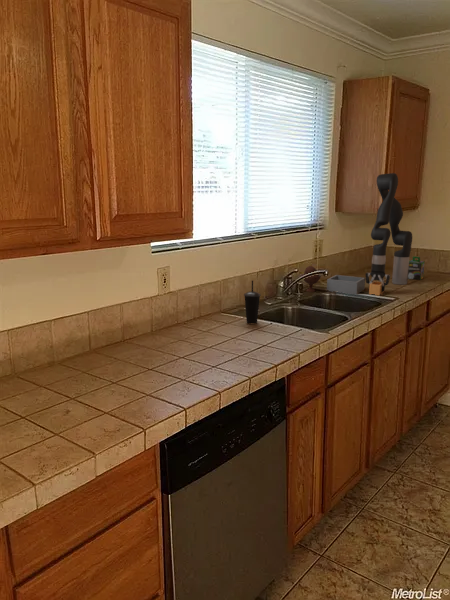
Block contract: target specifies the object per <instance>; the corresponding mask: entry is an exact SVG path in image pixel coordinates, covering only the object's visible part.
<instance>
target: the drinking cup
mask: <svg viewBox="0 0 450 600" xmlns="http://www.w3.org/2000/svg"><path fill="white" fill-rule="evenodd" d="M243 296H244V306H245V307H244V308H245V317H246V318H245V321H246V324H248V323H256V324H258V319H259V318H258V317H259V308H260V300H261V293H259V292H257V291H254V280H251V290H250V291H247V292H245V293H244V294H243Z"/></svg>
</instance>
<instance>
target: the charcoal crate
mask: <svg viewBox="0 0 450 600" xmlns="http://www.w3.org/2000/svg"><path fill="white" fill-rule="evenodd" d="M365 286H366V277H359V276H353V275H340V274H335V275H333V276H331V277H329V278H327V279H326V291H327V290H329V291H328V292H333V291H338V292H337V293H341V292H343V294H348V295H349V294H350V295H358V294H359V293H361V292H363V291H364V290H366V289H365V288H366V287H365ZM362 290H363V291H362Z"/></svg>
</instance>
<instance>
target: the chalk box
mask: <svg viewBox="0 0 450 600" xmlns="http://www.w3.org/2000/svg"><path fill="white" fill-rule="evenodd" d="M424 274H425V260H421V257H420V256H412V259H411V260H409V269H408V280H417V281H421V280H423V278H424V276H425V275H424Z"/></svg>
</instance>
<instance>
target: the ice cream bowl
mask: <svg viewBox="0 0 450 600" xmlns="http://www.w3.org/2000/svg"><path fill="white" fill-rule="evenodd" d="M314 271H317V269H316V267H314V266H311V265H309V266H307V267H306V268H305V270H304V272H303V274H302V275H301V276H303V275H305V274H308V273H311V272H314ZM321 277H322V275H321V274H319V275H314V276H311V277H308V278H305V279H304V280H303V281H304V283H307V284H309V288H307V289H306V290H305V291H306V292H309V293H315V292H316V289H315V288H313V287H314V285H315V284H317V283H318V282H319V281H320V279H321Z"/></svg>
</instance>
